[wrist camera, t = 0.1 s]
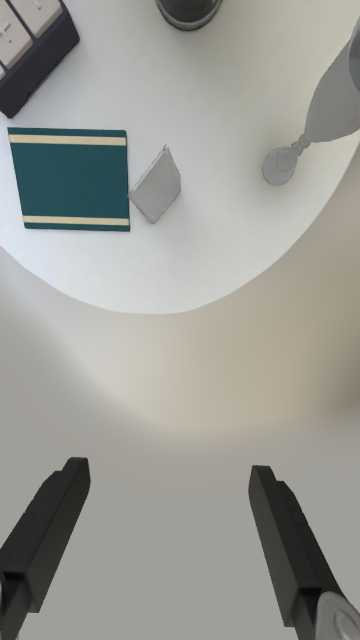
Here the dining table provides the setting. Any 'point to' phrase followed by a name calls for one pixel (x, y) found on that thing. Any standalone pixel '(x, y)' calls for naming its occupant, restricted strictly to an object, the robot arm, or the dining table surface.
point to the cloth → (71, 178)
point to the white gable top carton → (157, 186)
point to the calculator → (30, 46)
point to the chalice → (324, 112)
